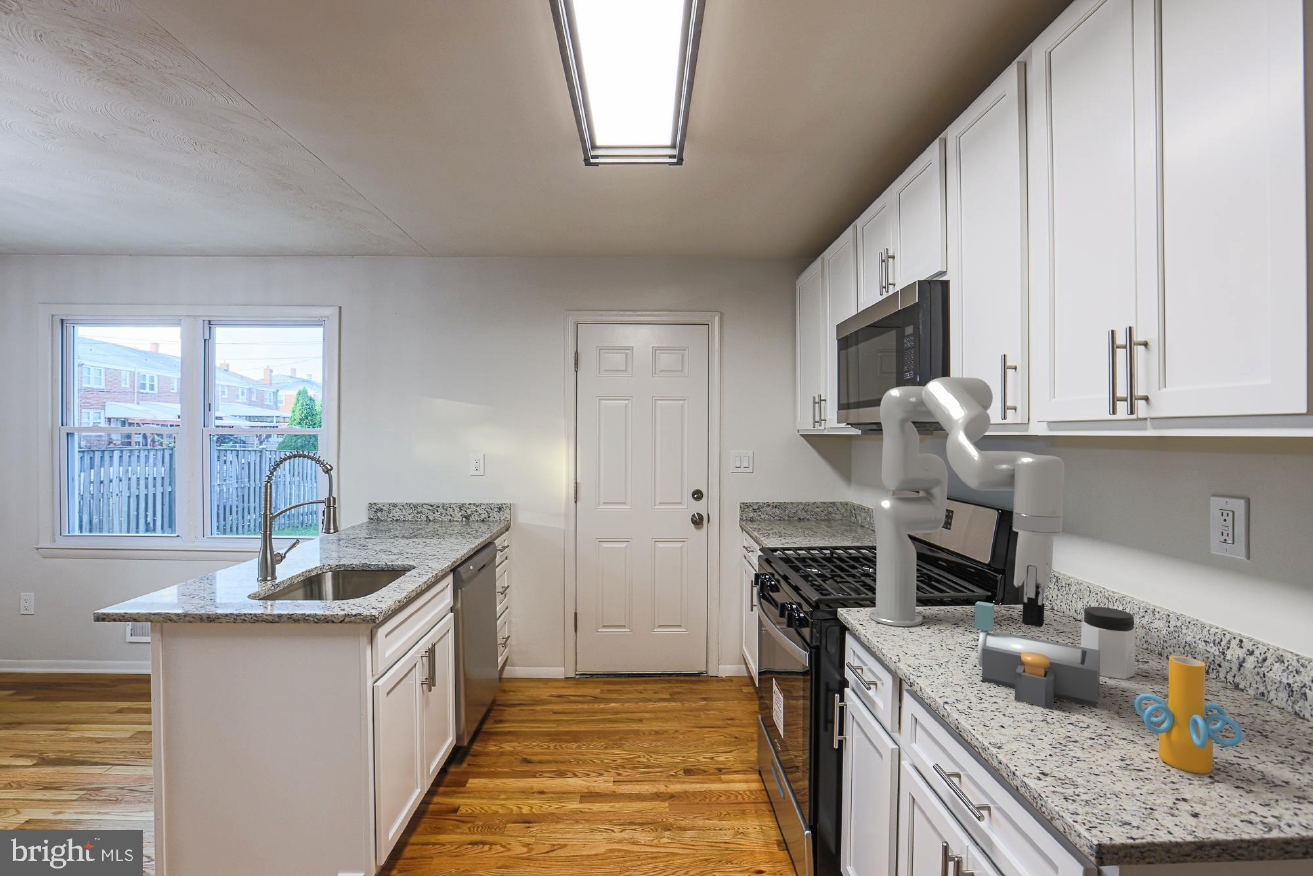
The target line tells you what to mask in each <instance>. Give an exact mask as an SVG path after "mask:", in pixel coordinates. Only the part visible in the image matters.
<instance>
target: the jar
mask: <svg viewBox="0 0 1313 876" xmlns="http://www.w3.org/2000/svg"><path fill="white" fill-rule="evenodd" d="M1134 617H1135V616H1134V615H1133V613H1130V612H1128V611H1125V610H1121V609H1117V608H1111V607H1104V606H1087V607H1085V608H1084V610H1083V621H1081V627H1080V628H1081V629H1080V630H1081V634H1080V635H1081V637H1080V641H1081V642H1080V643H1081V645H1080V647H1084V648H1090V649H1095V650H1100V677H1104V678H1111V679H1112V678H1113V679H1117V680H1118V679H1119V680H1124V681H1125V680H1128V679H1130V678H1131V677H1133V676H1135V675H1136V643H1137V638H1136V637H1137V634H1136V633H1137V629H1136V627H1134V626H1135V620H1134V619H1135V618H1134Z"/></svg>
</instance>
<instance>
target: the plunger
mask: <svg viewBox="0 0 1313 876" xmlns="http://www.w3.org/2000/svg"><path fill="white" fill-rule="evenodd" d="M1021 662H1022V663H1024V664H1025V673H1027V674H1032V675H1036V676H1041V677H1045V668H1047V667H1050V658H1049V657H1047V656H1045V655H1043V654H1039V653H1033V652H1024V653H1022V654H1021Z"/></svg>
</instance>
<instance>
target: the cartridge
mask: <svg viewBox="0 0 1313 876" xmlns="http://www.w3.org/2000/svg"><path fill="white" fill-rule="evenodd" d="M974 604H975V606H974V611H975V612H974V629H976V630H980V633H979V638H978V643H977V663H978V665H979V666H978V667H981V668H982V651H983V647H984V645H985V646H990V647H995V648H1000V649H1005V650H1010V651H1016V652H1021V653H1024V652H1033V653H1039V654H1043V655H1045V656H1047V657H1049V658H1051V659H1056V660H1061V661H1067V662H1072V663H1077V664H1082V650H1080V649H1074V648H1069V647H1064V646H1058V645H1053V644H1047V643H1042V642H1036V641H1031V640H1026V639H1020V638H1015V637H1009V636H1004V635H999V634H993V631H994V629H995V627H994V626H995V603H990V602H985V601H977V602H976V603H974Z"/></svg>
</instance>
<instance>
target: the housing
mask: <svg viewBox="0 0 1313 876" xmlns="http://www.w3.org/2000/svg"><path fill="white" fill-rule="evenodd" d="M992 633H993V634H999V635H1004V636H1009V637H1015V638H1020V639H1026V640H1031V641H1036V642H1042V643H1047V644H1053V645H1058V646H1064V647H1069V648H1074V649H1080V650H1082V664H1077V663H1072V662H1067V661H1061V660H1056V659H1051V658H1050V667H1047V668H1045V677H1041V676H1036V675H1032V674H1027V673H1025V664H1024V663H1022V662H1021V654H1022V653H1021V652H1016V651H1010V650H1005V649H1000V648H995V647H990V646H985V645H984V647H983V651H982V667H981V682H982V681H985V682H988V683H987V684H989V683H994V684H996V685H995V686H998V685H1002V686H1001V687H1003V686H1005V687H1004V688H1007V687H1010V688H1009V689H1011V688H1013V689H1012V690H1014V701H1015V700H1017V701H1016V702H1018V701H1021V702H1020V703H1023V702H1026V703H1025V704H1027V703H1028V705H1031V704H1033V705H1032V706H1035V705H1036V706H1035V707H1039V706H1042V707H1041V708H1044V709H1048V710H1053V706H1054V703H1053V702H1055V700H1059V701H1060V700H1061V701H1064V700H1065V701H1064V702H1068V701H1069V703H1072V702H1074V703H1073V704H1077V705H1081V704H1082V705H1081V706H1087V707H1091V708H1095V709H1097V707H1098V701H1099V693H1100V684H1101V683H1100V682H1101V681H1100V679H1101V676H1100V650H1095V649H1090V648H1084V647H1081V646H1079V645H1074V644H1067V643H1061V642H1057V641H1056V642H1055V641H1050V640H1046V639H1041V638H1040V639H1039V638H1034V637H1029V636H1022V635H1019V634H1018V635H1017V634H1013V633H1007V632H1001V631H996V630H993V631H992ZM985 682H984V683H985ZM994 684H993V685H994ZM1055 698H1057V699H1055Z"/></svg>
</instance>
